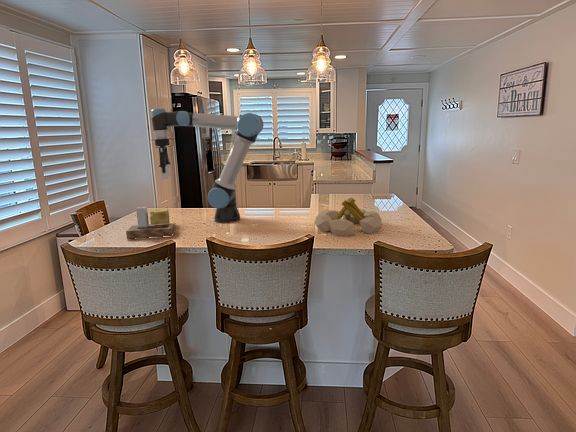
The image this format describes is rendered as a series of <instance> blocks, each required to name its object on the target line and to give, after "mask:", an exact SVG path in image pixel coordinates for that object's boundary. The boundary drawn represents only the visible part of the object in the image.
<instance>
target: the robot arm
mask: <svg viewBox="0 0 576 432" xmlns="http://www.w3.org/2000/svg"><path fill="white" fill-rule="evenodd" d="M150 113H151V114H150V115H151V118H150V119H151V123H152V131H153V132H152V135H153V137H154V145H155V147H158V154H159V166H158V167H159V168H160V173H161V179H162V180H168V178H169V177H171V176H172V175H171V167H170V165H171V162H170V158H169V154H168V146H170V145H171V144H170V138H169V136H170V133H169V129H168V127H169V128H170V127H193V128H194V127H195V128H206V129H207V128H209V129H220V130H231V131H234V136H235V138H234V141H233V144H232V146H231V148H230V151H229V154H228V156H227V158H226V161H225V162H224V165H223V168H222V171H221V173H220V175H219V178H216V179H215V180H214V182H213V184H212V185H213V186H212V188H211V189H210V190H209V191H208V194H207V202H208V204H209V205H210V206H211V207H212V208H213V209H215V212H214V222H215V223H221V224H222V223H223V224H224V223H225V224H228V223H235V222H238V221H240V220H241V214H240V211H239V210H238V206H237V193H236V192H237V191H236V189H237V188H236V187H237V186H236V183H235V182H236V180H237V179H238V175H239V173H240V171H241V168H242V166H243V164H244V162H245V159H246V156H247V154H248V153H249V152H248V151H249V149H250V148H251V145H252V144H255V143H256V140H257V139H258V136H259V134H260V133H261V132H262V131H263V129H264V121H263V118H262V117H261V116H260V115H258V114H257V113H252V112H246V113H243V114H239V115H238V116H237V115H224V114H213V113H212V114H211V113H201V112H200V113H198V112H188V111H186V110H179V111H166V109H165V108H154V109H151V111H150Z"/></svg>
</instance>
